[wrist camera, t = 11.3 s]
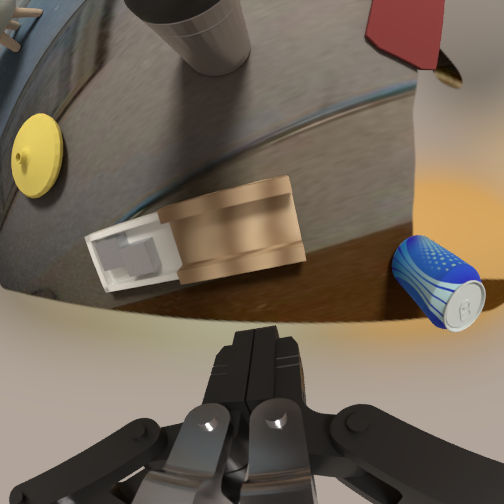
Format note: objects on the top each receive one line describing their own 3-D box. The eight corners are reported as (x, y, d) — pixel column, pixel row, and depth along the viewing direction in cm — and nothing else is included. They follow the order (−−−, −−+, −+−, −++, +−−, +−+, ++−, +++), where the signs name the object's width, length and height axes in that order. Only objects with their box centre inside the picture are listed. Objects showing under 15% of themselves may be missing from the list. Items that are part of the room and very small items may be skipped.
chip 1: (125, 232, 39) (115, 237, 36) (134, 259, 40) (125, 266, 37) (104, 239, 40) (94, 244, 37) (113, 264, 41) (104, 271, 38)
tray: (168, 208, 38) (160, 212, 36) (188, 270, 41) (182, 278, 39) (94, 232, 41) (84, 237, 38) (114, 285, 44) (105, 292, 41)
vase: (42, 101, 33) (17, 99, 27) (84, 137, 36) (56, 137, 29) (15, 169, 38) (-9, 174, 31) (51, 211, 40) (26, 220, 34)
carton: (421, 78, 31) (434, -16, 20) (434, 76, 27) (445, -24, 15) (356, 48, 31) (376, -45, 19) (364, 41, 27) (383, -56, 15)
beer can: (382, 278, 39) (426, 337, 24) (397, 227, 36) (456, 267, 21) (422, 285, 39) (471, 339, 24) (438, 238, 36) (499, 278, 21)
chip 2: (152, 236, 39) (143, 242, 36) (161, 264, 40) (154, 271, 37) (128, 243, 39) (119, 249, 37) (138, 269, 41) (129, 277, 38)
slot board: (287, 174, 36) (288, 176, 32) (303, 250, 39) (306, 260, 35) (167, 205, 38) (156, 210, 34) (189, 273, 42) (181, 284, 38)
